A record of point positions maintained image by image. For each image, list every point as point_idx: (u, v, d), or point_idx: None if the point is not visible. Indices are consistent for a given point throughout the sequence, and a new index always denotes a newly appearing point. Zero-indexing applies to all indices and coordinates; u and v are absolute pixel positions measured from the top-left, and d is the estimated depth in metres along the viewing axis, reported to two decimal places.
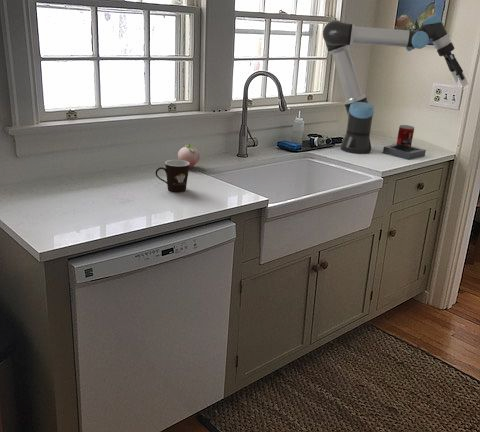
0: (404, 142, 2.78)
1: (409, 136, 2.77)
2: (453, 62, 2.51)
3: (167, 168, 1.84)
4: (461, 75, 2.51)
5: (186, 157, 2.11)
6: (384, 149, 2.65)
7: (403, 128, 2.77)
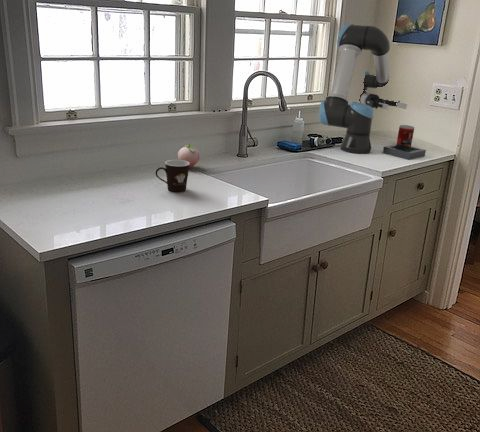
0: (404, 142, 2.78)
1: (409, 136, 2.77)
2: None
3: (167, 168, 1.84)
4: None
5: (186, 158, 2.11)
6: (384, 149, 2.65)
7: (403, 128, 2.77)
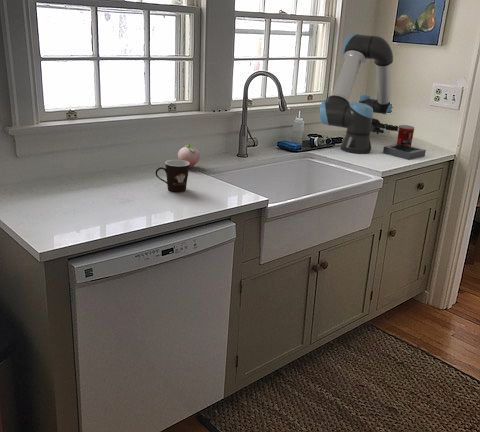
0: (404, 142, 2.78)
1: (409, 136, 2.77)
2: None
3: (167, 168, 1.84)
4: None
5: (186, 157, 2.11)
6: (384, 149, 2.65)
7: (403, 128, 2.77)
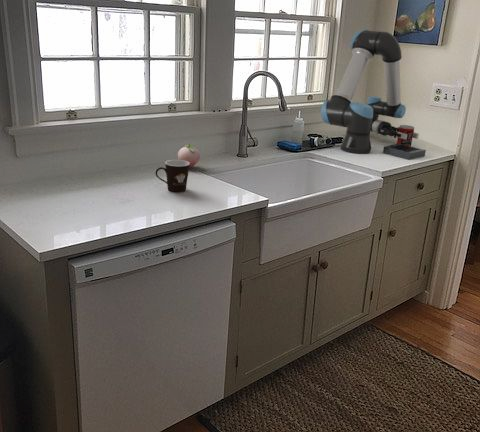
0: (404, 142, 2.78)
1: (409, 136, 2.77)
2: None
3: (167, 168, 1.84)
4: None
5: (186, 158, 2.11)
6: (384, 149, 2.65)
7: (403, 128, 2.77)
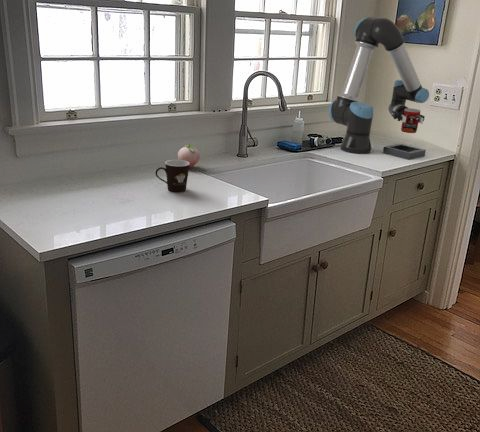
0: (405, 126, 2.60)
1: (411, 120, 2.58)
2: None
3: (167, 168, 1.84)
4: None
5: (186, 158, 2.11)
6: (384, 149, 2.65)
7: (405, 110, 2.59)
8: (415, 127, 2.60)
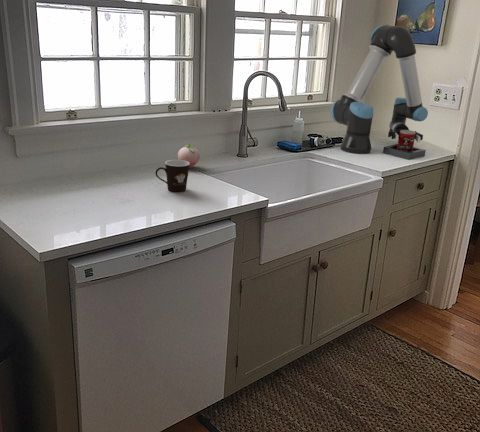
0: (400, 147, 2.62)
1: (405, 141, 2.60)
2: None
3: (167, 168, 1.84)
4: None
5: (186, 157, 2.11)
6: (384, 149, 2.65)
7: (400, 132, 2.61)
8: (410, 149, 2.61)
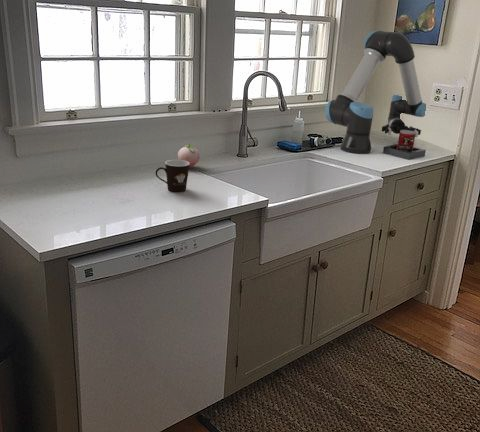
0: (400, 147, 2.62)
1: (405, 141, 2.60)
2: None
3: (167, 168, 1.84)
4: None
5: (186, 157, 2.11)
6: (384, 149, 2.65)
7: (400, 132, 2.61)
8: (410, 149, 2.61)
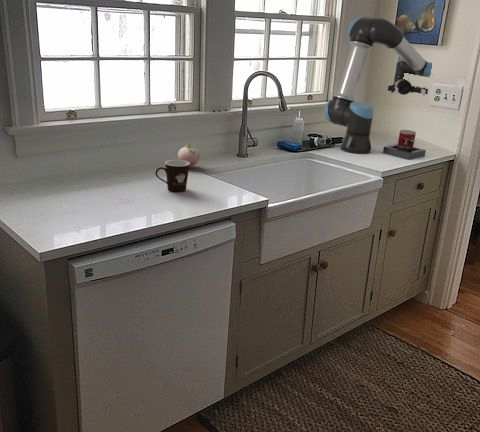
0: (400, 147, 2.62)
1: (405, 141, 2.60)
2: None
3: (167, 168, 1.84)
4: None
5: (186, 157, 2.11)
6: (384, 149, 2.65)
7: (400, 132, 2.61)
8: (410, 149, 2.61)
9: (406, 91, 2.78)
